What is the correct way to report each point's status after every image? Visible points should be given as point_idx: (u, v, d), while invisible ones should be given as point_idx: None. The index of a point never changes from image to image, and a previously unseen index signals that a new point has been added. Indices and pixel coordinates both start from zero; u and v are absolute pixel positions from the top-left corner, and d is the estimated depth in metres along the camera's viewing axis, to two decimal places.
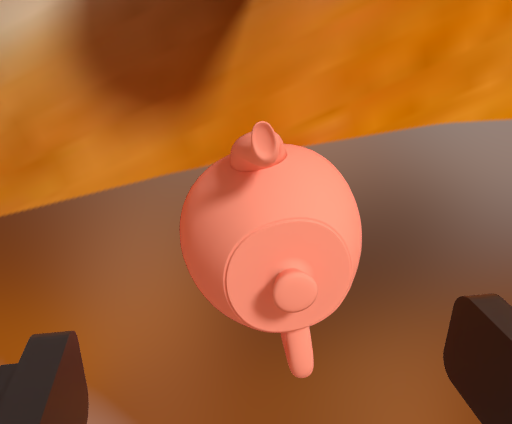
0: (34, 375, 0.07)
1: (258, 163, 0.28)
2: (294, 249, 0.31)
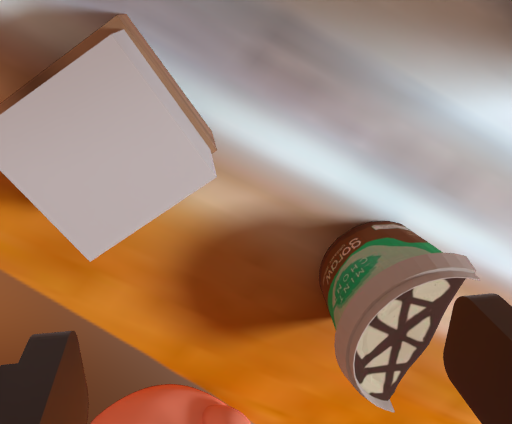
0: (34, 375, 0.07)
1: None
2: None
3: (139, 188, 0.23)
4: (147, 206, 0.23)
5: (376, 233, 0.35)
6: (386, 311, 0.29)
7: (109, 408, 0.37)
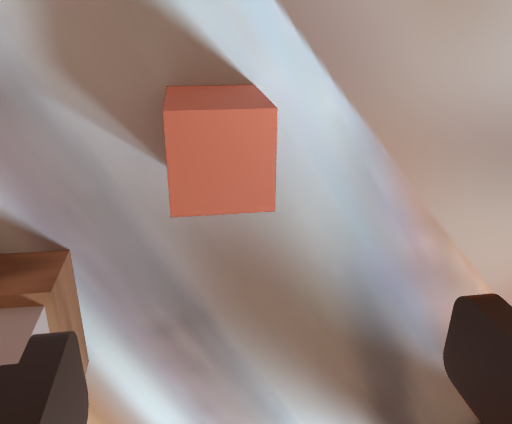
0: (34, 375, 0.07)
1: None
2: None
3: None
4: None
5: None
6: None
7: None
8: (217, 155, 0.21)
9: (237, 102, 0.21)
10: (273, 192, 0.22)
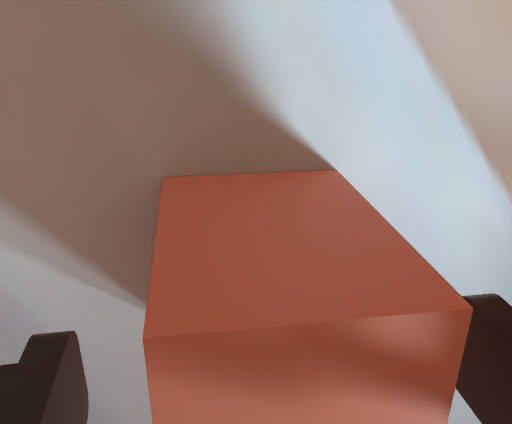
0: (34, 375, 0.07)
1: None
2: None
3: None
4: None
5: None
6: None
7: None
8: None
9: (342, 265, 0.08)
10: None
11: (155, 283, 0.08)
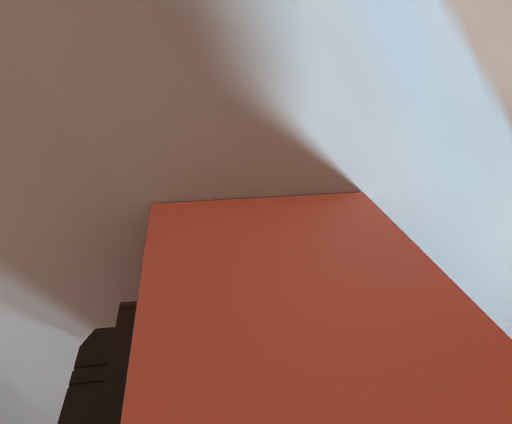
0: None
1: None
2: None
3: None
4: None
5: None
6: None
7: None
8: None
9: (399, 353, 0.06)
10: None
11: (133, 391, 0.05)
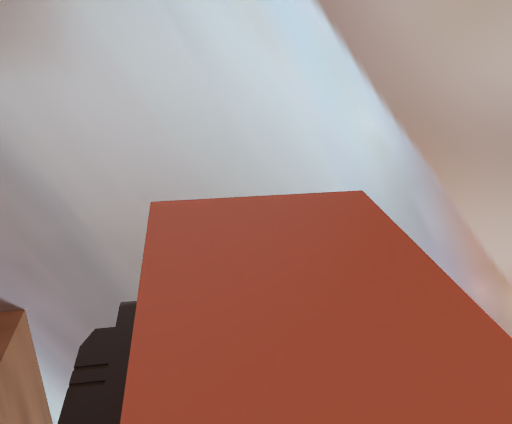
0: None
1: None
2: None
3: None
4: None
5: None
6: None
7: None
8: None
9: (398, 349, 0.06)
10: None
11: (133, 386, 0.05)
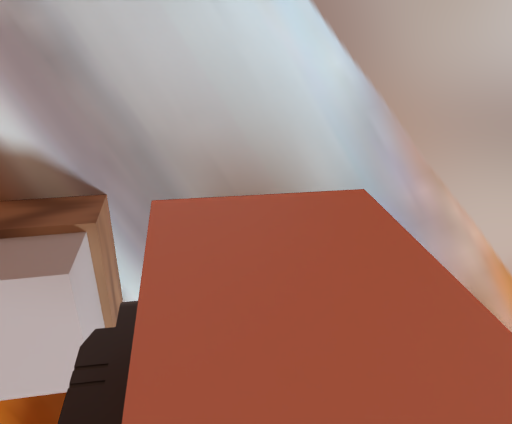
0: (133, 334, 0.08)
1: None
2: None
3: (26, 373, 0.26)
4: (25, 387, 0.26)
5: None
6: None
7: None
8: None
9: (401, 348, 0.06)
10: None
11: (135, 385, 0.05)
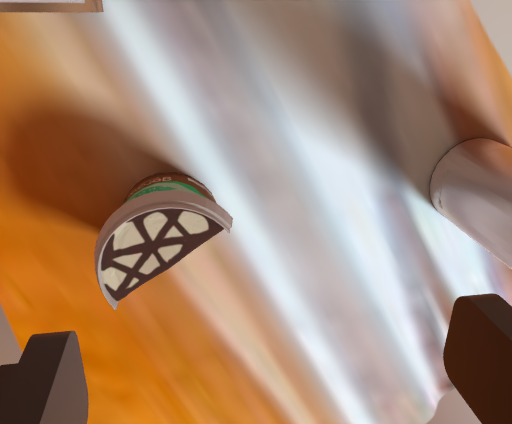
0: (34, 375, 0.07)
1: None
2: None
3: None
4: None
5: (186, 181, 0.41)
6: (152, 220, 0.35)
7: None
8: None
9: None
10: None
11: None
